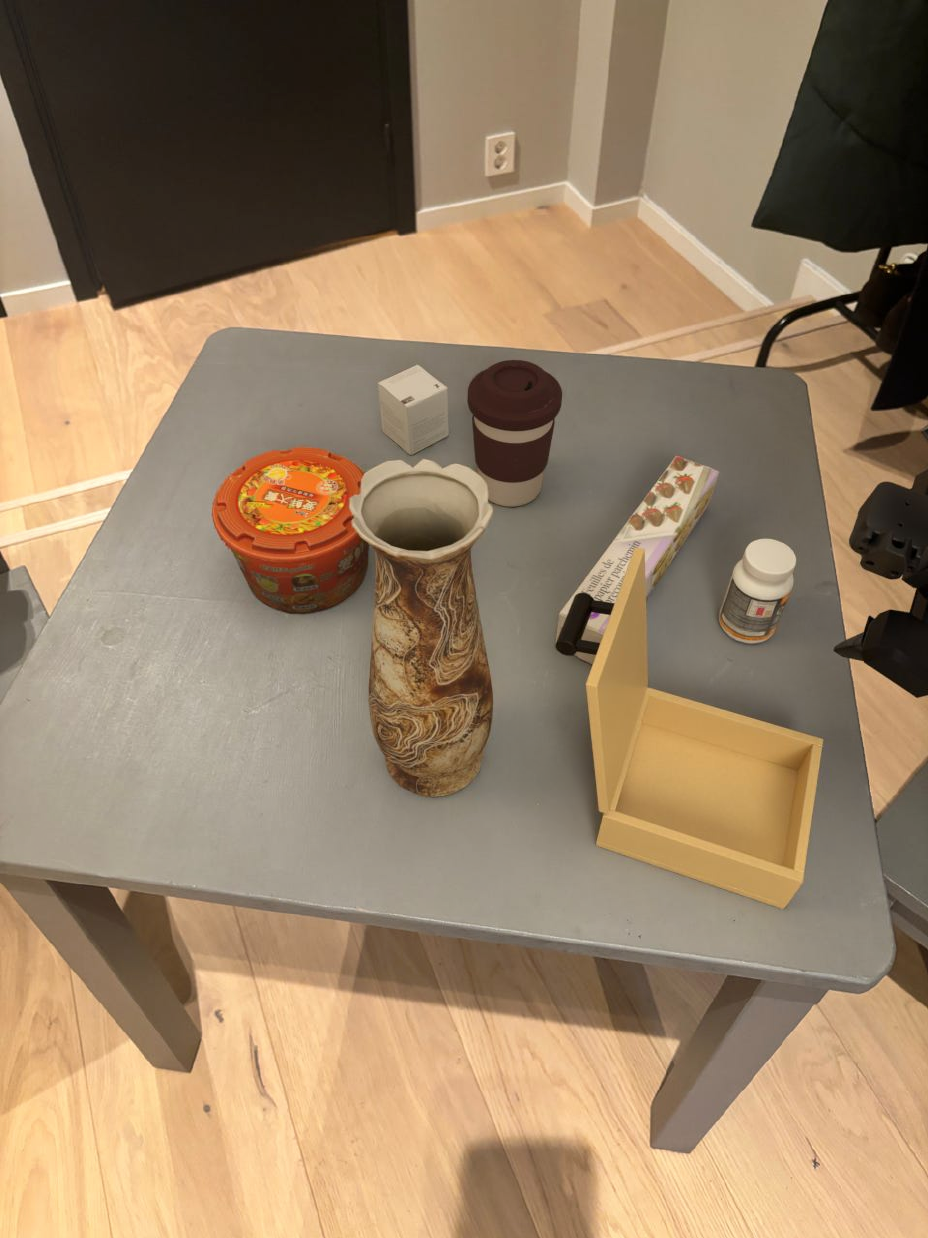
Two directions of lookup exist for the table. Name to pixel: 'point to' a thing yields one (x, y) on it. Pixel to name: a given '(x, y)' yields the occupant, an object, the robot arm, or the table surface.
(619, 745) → the upright wooden panel
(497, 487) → the coffee cup
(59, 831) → the table surface
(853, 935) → the table surface
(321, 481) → the food container
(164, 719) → the table surface
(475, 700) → the vase
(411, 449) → the product carton
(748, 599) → the pill bottle
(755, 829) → the shallow kraft tray
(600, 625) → the box
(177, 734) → the table surface
